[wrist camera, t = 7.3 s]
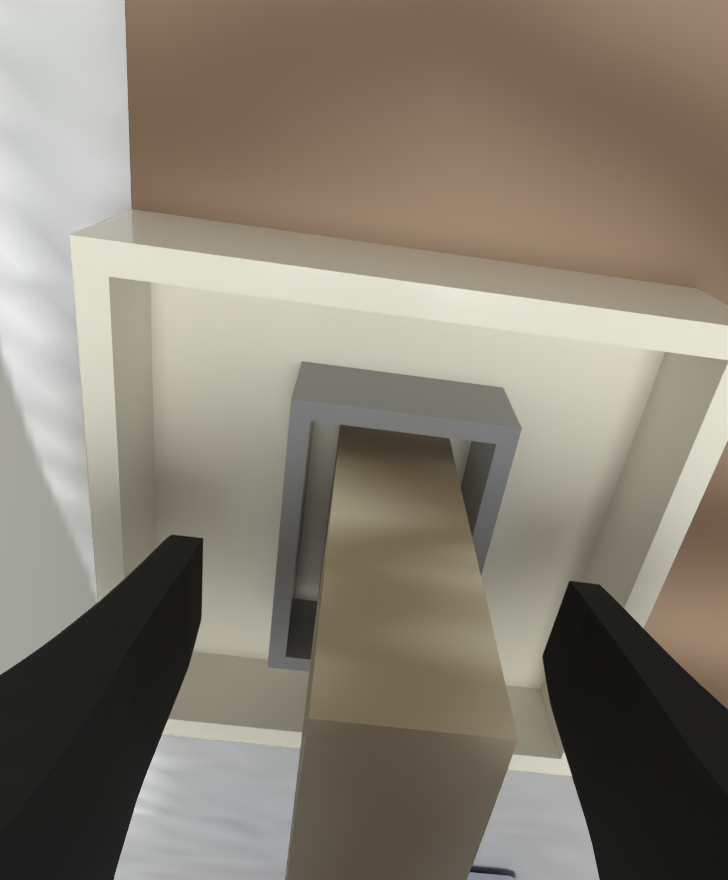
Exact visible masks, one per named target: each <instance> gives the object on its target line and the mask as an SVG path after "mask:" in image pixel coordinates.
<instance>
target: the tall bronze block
mask: <svg viewBox="0 0 728 880" xmlns="http://www.w3.org/2000/svg"><path fill="white" fill-rule="evenodd" d="M517 742H518V737H517V733H516V728H515V724H514V719H513V715H512V711H511V706H510V702H509V697H508V693H507V689H506V684H505V680H504V675H503V671H502V667H501V662H500V658H499V654H498V649H497V645H496V640H495V636H494V632H493V627H492V623H491V618H490V614H489V610H488V605H487V601H486V596H485V592H484V588H483V583H482V579H481V574H480V570H479V566H478V561H477V557H476V552H475V548H474V544H473V539H472V535H471V530H470V526H469V522H468V517H467V513H466V508H465V504H464V500H463V495H462V491H461V486H460V482H459V478H458V473H457V469H456V464H455V460H454V456H453V451H452V447H451V442H450V438H444V437H436V436H428V435H420V434H412V433H404V432H396V431H388V430H380V429H372V428H364V427H356V426H349V425H341V424H340V430H339V438H338V445H337V453H336V461H335V469H334V476H333V484H332V492H331V499H330V507H329V515H328V523H327V530H326V538H325V546H324V553H323V561H322V569H321V577H320V584H319V592H318V601H317V610H316V618H315V627H314V636H313V644H312V653H311V662H310V670H309V679H308V687H307V696H306V705H305V713H304V722H303V731H302V739H301V748H300V757H299V765H298V774H297V783H296V791H295V800H294V808H293V817H292V826H291V834H290V843H289V852H288V860H287V869H286V878H285V880H467V878H468V876H469V873H470V870H471V867H472V865H473V862H474V859H475V857H476V854H477V851H478V848H479V846H480V843H481V840H482V837H483V835H484V832H485V829H486V826H487V824H488V821H489V818H490V816H491V813H492V810H493V807H494V805H495V802H496V799H497V796H498V794H499V791H500V788H501V786H502V783H503V780H504V777H505V775H506V772H507V769H508V766H509V764H510V761H511V758H512V756H513V753H514V750H515V747H516V745H517Z"/></svg>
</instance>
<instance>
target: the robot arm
mask: <svg viewBox="0 0 728 880" xmlns="http://www.w3.org/2000/svg"><path fill="white" fill-rule="evenodd" d="M202 576H203V538H197V537H189V536H180V535H170V536H169V537H167V538H166V539H165V540H164V541H163V542H162V543H161V544H160V545H159V546H158V547H157V548H156V549H155V550H154V551H153V552H152V553H151V554H150V555H149V556H148V557H147V558H146V559H145V560H144V561H143V562H142V563H141V564H139V565H138V566H137V567H136V568H135V569H134V570H133V571H132V572H131V573H130V574H129V575H128V576H127V577H126V578H125V579H124V580H122V581H121V582H120V583H119V584H118V585H117V586H116V587H115V588H113V589H112V590H111V591H110V592H109V593H108V594H107V595H106V596H104V597H103V598H102V599H101V600H100V601H99V602H98V603H97V604H95V605H94V606H93V607H92V608H91V609H89V610H88V611H87V612H86V613H84V614H83V615H82V616H81V617H80V618H78V619H77V620H76V621H74V622H73V623H72V624H71V625H69V626H68V627H67V628H66V629H65V630H63V631H62V632H61V633H59V634H58V635H57V636H56V637H54V638H53V639H52V640H50V641H49V642H48V643H46V644H45V645H43V646H42V647H41V648H39V649H38V650H36V651H35V652H34V653H32V654H31V655H29V656H28V657H26V658H25V659H24V660H22V661H21V662H19V663H18V664H16V665H15V666H13V667H12V668H10V669H9V670H7V671H6V672H4V673H3V674H1V675H0V880H113V879H114V875H115V872H116V868H117V865H118V861H119V858H120V854H121V851H122V848H123V844H124V841H125V837H126V834H127V831H128V827H129V824H130V821H131V817H132V814H133V811H134V807H135V804H136V801H137V798H138V795H139V792H140V789H141V787H142V784H143V781H144V778H145V775H146V773H147V770H148V768H149V765H150V763H151V760H152V758H153V755H154V753H155V750H156V748H157V745H158V743H159V740H160V738H161V736H162V733H163V731H164V728H165V726H166V723H167V721H168V718H169V716H170V713H171V711H172V708H173V706H174V703H175V701H176V698H177V695H178V693H179V690H180V688H181V685H182V683H183V680H184V678H185V675H186V673H187V670H188V667H189V664H190V660H191V657H192V653H193V649H194V646H195V642H196V638H197V634H198V630H199V627H200V623H201V619H202ZM542 658H543V665H544V671H545V678H546V684H547V689H548V695H549V700H550V705H551V709H552V712H553V716H554V719H555V722H556V726H557V729H558V732H559V736H560V739H561V742H562V746H563V749H564V752H565V755H566V758H567V762H568V765H569V768H570V771H571V774H572V778H573V781H574V784H575V787H576V790H577V794H578V797H579V800H580V803H581V806H582V810H583V813H584V816H585V819H586V823H587V827H588V830H589V834H590V838H591V841H592V845H593V850H594V854H595V859H596V864H597V869H598V873H599V878H600V880H728V709H727V708H726V707H725V706H724V705H722V704H721V703H720V702H719V701H718V700H717V699H716V698H715V697H714V696H712V695H711V694H710V693H709V692H708V691H707V690H706V689H705V688H704V687H703V686H701V685H700V684H699V683H698V682H697V681H696V680H695V679H694V678H693V677H692V676H691V675H690V674H689V673H688V672H687V671H686V670H685V669H683V668H682V667H681V666H680V665H679V664H678V663H677V662H676V661H675V660H674V659H673V658H672V657H671V656H670V655H669V654H668V653H667V652H666V651H665V650H664V649H663V648H662V647H661V646H660V645H659V644H658V643H657V642H656V641H655V640H654V639H653V638H652V637H651V636H650V635H649V634H648V633H647V632H646V630H645V629H644V628H643V627H642V626H641V625H640V624H639V623H638V622H637V621H636V620H635V619H634V618H633V617H632V616H631V615H630V614H629V613H628V612H627V611H626V610H625V609H624V608H623V607H622V606H621V605H620V604H619V603H618V602H617V601H616V600H615V599H614V598H613V597H612V596H611V595H610V594H609V593H608V592H607V591H606V590H605V589H604V588H603V587H602V586H601V585H600V584H592V583H584V582H575V581H569V583H568V586H567V589H566V591H565V594H564V597H563V600H562V603H561V605H560V608H559V611H558V614H557V616H556V619H555V622H554V625H553V628H552V630H551V633H550V636H549V639H548V641H547V644H546V647H545V650H544V653H543V655H542ZM467 880H516V879H515V878H513V877H511V876H506V875H495V874H484V873H474V872H470V873H469V876H468V878H467Z"/></svg>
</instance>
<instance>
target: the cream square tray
mask: <svg viewBox="0 0 728 880" xmlns="http://www.w3.org/2000/svg"><path fill="white" fill-rule="evenodd" d="M70 245H71V258H72V271H73V284H74V297H75V311H76V324H77V337H78V350H79V363H80V376H81V389H82V402H83V415H84V428H85V441H86V454H87V467H88V480H89V493H90V506H91V519H92V532H93V545H94V558H95V571H96V584H97V597H98V602H99V601H100V600H101V599H102V598H103V597H104V596H106V595H107V594H108V593H109V592H110V591H111V590H112V589H113V588H115V587H116V586H117V585H118V584H119V583H120V582H121V581H122V580H124V579H125V578H126V577H127V576H128V575H129V574H130V573H131V572H132V571H133V570H134V569H135V568H136V567H137V566H138V565H139V564H141V563H142V562H143V561H144V560H145V559H146V558H147V557H148V556H149V555H150V554H151V553H152V552H153V551H154V550H155V549H156V548H157V547H158V546H159V545H160V544H161V543H162V542H163V541H164V540H165V539H166V538H167V537H169V536H170V535H180V536H189V537H197V538H203V576H202V619H201V623H200V627H199V630H198V634H197V638H196V642H195V646H194V649H193V653H192V657H191V660H190V664H189V667H188V670H187V673H186V675H185V678H184V680H183V683H182V685H181V688H180V690H179V693H178V695H177V698H176V701H175V703H174V706H173V708H172V711H171V713H170V716H169V718H168V721H167V723H166V726H165V728H164V731H163V733H162V735H172V736H181V737H191V738H201V739H211V740H221V741H231V742H241V743H250V744H260V745H270V746H280V747H290V748H301V739H302V731H303V722H304V713H305V705H306V696H307V687H308V679H309V670H310V662H311V653H312V644H313V636H314V627H315V618H316V610H317V601H318V592H319V584H320V577H321V569H322V561H323V553H324V546H325V538H326V530H327V523H328V515H329V507H330V499H331V492H332V484H333V476H334V469H335V461H336V453H337V445H338V438H339V430H340V424H341V425H349V426H356V427H364V428H372V429H380V430H388V431H396V432H404V433H412V434H420V435H428V436H436V437H444V438H450V442H451V447H452V451H453V456H454V460H455V464H456V469H457V473H458V478H459V482H460V486H461V491H462V495H463V500H464V504H465V508H466V513H467V517H468V522H469V526H470V530H471V535H472V539H473V544H474V548H475V552H476V557H477V561H478V566H479V570H480V574H481V579H482V583H483V588H484V592H485V596H486V601H487V605H488V610H489V614H490V618H491V623H492V627H493V632H494V636H495V640H496V645H497V649H498V654H499V658H500V662H501V667H502V671H503V675H504V680H505V684H506V689H507V693H508V697H509V702H510V706H511V711H512V715H513V719H514V724H515V728H516V733H517V737H518V742H517V745H516V747H515V750H514V753H513V756H512V758H511V761H510V764H509V766H508V769H507V770H517V771H527V772H536V773H546V774H556V775H566V776H572V774H571V771H570V768H569V765H568V762H567V758H566V755H565V752H564V749H563V746H562V742H561V739H560V736H559V732H558V729H557V726H556V722H555V719H554V716H553V712H552V709H551V705H550V700H549V695H548V689H547V684H546V678H545V671H544V665H543V658H542V655H543V653H544V650H545V647H546V644H547V641H548V639H549V636H550V633H551V630H552V628H553V625H554V622H555V619H556V616H557V614H558V611H559V608H560V605H561V603H562V600H563V597H564V594H565V591H566V589H567V586H568V583H569V581H575V582H584V583H592V584H600V585H601V586H602V587H603V588H604V589H605V590H606V591H607V592H608V593H609V594H610V595H611V596H612V597H613V598H614V599H615V600H616V601H617V602H618V603H619V604H620V605H621V606H622V607H623V608H624V609H625V610H626V611H627V612H628V613H629V614H630V615H631V616H632V617H633V618H634V619H635V620H636V621H637V622H638V623H639V624H640V625H641V626H642V627H643V628H644V626H645V624H646V622H647V620H648V617H649V615H650V613H651V611H652V608H653V606H654V604H655V602H656V600H657V597H658V595H659V593H660V591H661V588H662V586H663V584H664V582H665V579H666V577H667V575H668V573H669V571H670V568H671V566H672V564H673V562H674V559H675V557H676V555H677V553H678V550H679V548H680V546H681V544H682V541H683V539H684V537H685V535H686V533H687V530H688V528H689V526H690V524H691V521H692V519H693V517H694V515H695V512H696V510H697V508H698V506H699V504H700V501H701V499H702V497H703V495H704V492H705V490H706V488H707V486H708V483H709V481H710V479H711V477H712V474H713V472H714V470H715V468H716V466H717V463H718V461H719V459H720V457H721V454H722V452H723V450H724V448H725V445H726V443H727V441H728V305H726V304H725V303H723V302H721V301H719V300H717V299H716V298H714V297H712V296H710V295H708V294H707V293H705V292H703V291H701V290H699V289H697V288H690V287H683V286H676V285H669V284H661V283H654V282H647V281H640V280H633V279H626V278H619V277H612V276H604V275H597V274H590V273H583V272H576V271H569V270H562V269H555V268H547V267H540V266H533V265H526V264H519V263H512V262H505V261H498V260H490V259H483V258H476V257H469V256H462V255H455V254H448V253H441V252H434V251H426V250H419V249H412V248H405V247H398V246H391V245H384V244H377V243H369V242H362V241H355V240H348V239H341V238H334V237H327V236H320V235H312V234H305V233H298V232H291V231H284V230H277V229H270V228H263V227H256V226H248V225H241V224H234V223H227V222H220V221H213V220H206V219H199V218H191V217H184V216H177V215H170V214H163V213H156V212H149V211H142V210H134V209H131V210H128V211H126V212H124V213H121V214H119V215H116V216H114V217H112V218H109V219H107V220H104V221H102V222H99V223H97V224H95V225H92V226H90V227H87V228H85V229H83V230H80V231H78V232H75V233H73V234H71V235H70Z"/></svg>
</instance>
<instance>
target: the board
mask: <svg viewBox="0 0 728 880" xmlns="http://www.w3.org/2000/svg"><path fill="white" fill-rule="evenodd" d="M125 18H126V49H127V79H128V110H129V140H130V171H131V202H132V209H134V210H142V211H149V212H156V213H163V214H170V215H177V216H184V217H191V218H199V219H206V220H213V221H220V222H227V223H234V224H241V225H248V226H256V227H263V228H270V229H277V230H284V231H291V232H298V233H305V234H312V235H320V236H327V237H334V238H341V239H348V240H355V241H362V242H369V243H377V244H384V245H391V246H398V247H405V248H412V249H419V250H426V251H434V252H441V253H448V254H455V255H462V256H469V257H476V258H483V259H490V260H498V261H505V262H512V263H519V264H526V265H533V266H540V267H547V268H555V269H562V270H569V271H576V272H583V273H590V274H597V275H604V276H612V277H619V278H626V279H633V280H640V281H647V282H654V283H661V284H669V285H676V286H683V287H690V288H697V289H699V290H701V291H703V292H705V293H707V294H708V295H710V296H712V297H714V298H716V299H717V300H719V301H721V302H723V303H725V304H726V305H728V0H125ZM644 629H645V630H646V632H647V633H648V634H649V635H650V636H651V637H652V638H653V639H654V640H655V641H656V642H657V643H658V644H659V645H660V646H661V647H662V648H663V649H664V650H665V651H666V652H667V653H668V654H669V655H670V656H671V657H672V658H673V659H674V660H675V661H676V662H677V663H678V664H679V665H680V666H681V667H682V668H683V669H685V670H686V671H687V672H688V673H689V674H690V675H691V676H692V677H693V678H694V679H695V680H696V681H697V682H698V683H699V684H700V685H701V686H703V687H704V688H705V689H706V690H707V691H708V692H709V693H710V694H711V695H712V696H714V697H715V698H716V699H717V700H718V701H719V702H720V703H721V704H722V705H724V706H725V707H726V708H727V709H728V441H727V443H726V445H725V448H724V450H723V452H722V454H721V457H720V459H719V461H718V463H717V466H716V468H715V470H714V472H713V474H712V477H711V479H710V481H709V483H708V486H707V488H706V490H705V492H704V495H703V497H702V499H701V501H700V504H699V506H698V508H697V510H696V512H695V515H694V517H693V519H692V521H691V524H690V526H689V528H688V530H687V533H686V535H685V537H684V539H683V541H682V544H681V546H680V548H679V550H678V553H677V555H676V557H675V559H674V562H673V564H672V566H671V568H670V571H669V573H668V575H667V577H666V579H665V582H664V584H663V586H662V588H661V591H660V593H659V595H658V597H657V600H656V602H655V604H654V606H653V608H652V611H651V613H650V615H649V617H648V620H647V622H646V624H645V626H644Z"/></svg>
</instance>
